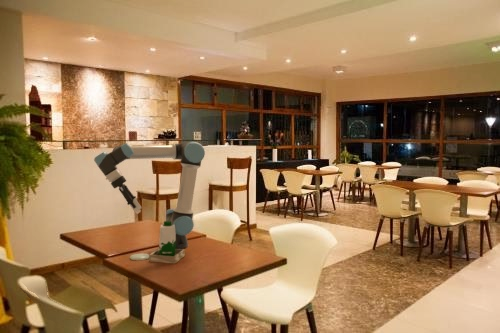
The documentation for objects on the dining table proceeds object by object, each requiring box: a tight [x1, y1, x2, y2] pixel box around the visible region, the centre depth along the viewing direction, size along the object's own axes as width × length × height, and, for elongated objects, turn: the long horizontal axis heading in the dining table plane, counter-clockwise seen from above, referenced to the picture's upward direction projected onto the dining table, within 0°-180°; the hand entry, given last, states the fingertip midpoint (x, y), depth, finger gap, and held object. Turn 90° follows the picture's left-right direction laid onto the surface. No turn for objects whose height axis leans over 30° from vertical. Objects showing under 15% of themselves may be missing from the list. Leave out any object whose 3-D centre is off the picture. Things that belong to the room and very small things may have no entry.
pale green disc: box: [129, 253, 150, 262], centre depth 212 cm, size 11×11×1 cm
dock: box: [148, 248, 186, 264], centre depth 212 cm, size 15×15×4 cm
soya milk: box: [158, 220, 176, 256], centre depth 211 cm, size 9×9×20 cm
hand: (139, 210), depth 210 cm, fingers open, 13 cm apart
